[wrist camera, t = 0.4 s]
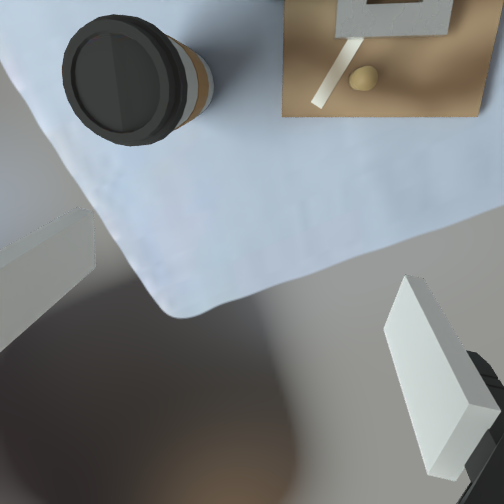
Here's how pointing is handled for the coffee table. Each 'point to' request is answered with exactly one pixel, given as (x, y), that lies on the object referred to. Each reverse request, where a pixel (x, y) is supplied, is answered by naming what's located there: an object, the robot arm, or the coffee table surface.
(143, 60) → the coffee cup
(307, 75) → the post base
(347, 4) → the flange
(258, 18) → the coffee table surface
